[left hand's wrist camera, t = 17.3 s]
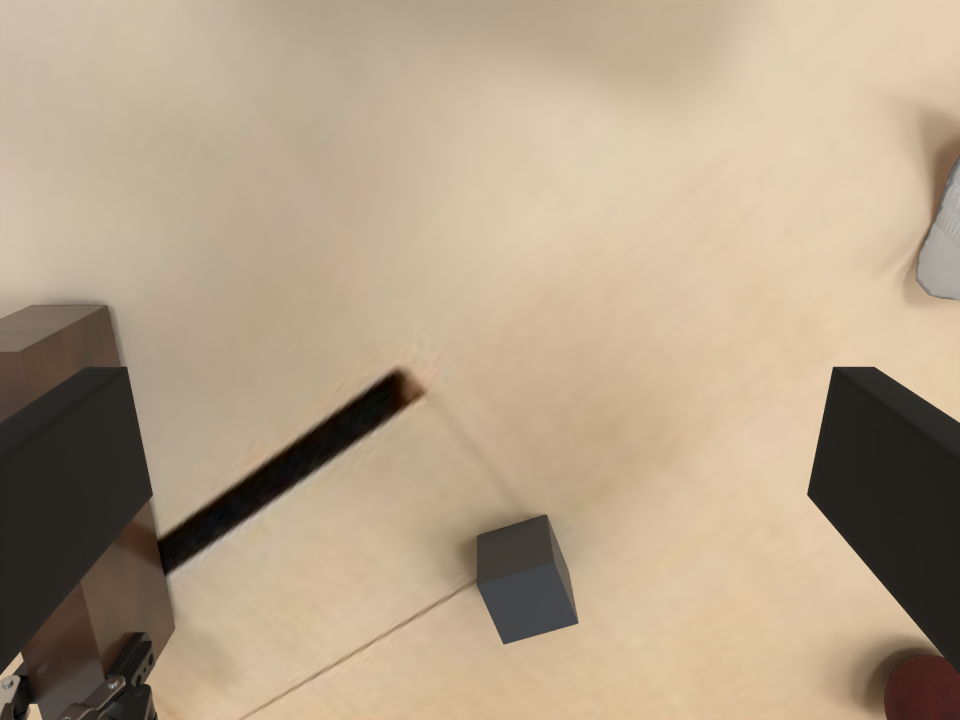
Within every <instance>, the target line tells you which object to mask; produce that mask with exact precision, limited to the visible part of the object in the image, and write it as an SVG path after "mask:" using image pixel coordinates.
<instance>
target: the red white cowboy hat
mask: <svg viewBox="0 0 960 720" xmlns="http://www.w3.org/2000/svg"><path fill="white" fill-rule="evenodd" d="M916 281H917V282H918V283H919V284H920V285H921V287H922V288H923V289H924V290H925V291H926V293H927V294H928V295H930V296H934V297H938V298H943V299H953V300H960V156H959V158H958V159H957V161H956V163H955V164H954V166H953V167H952V169H951V171H950V174H949V177H948V180H947V183H946V186H945V189H944V192H943V195H942V198H941V201H940V204H939V207H938V211H937V214H936V217H935V220H934V223H933V225H932V227H931V229H930V231H929V233H928V234H927V236H926V238H925V241H924V244H923V246H922V249H921V252H920V254H919V258H918V263H917V267H916Z"/></svg>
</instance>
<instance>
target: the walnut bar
mask: <svg viewBox="0 0 960 720" xmlns="http://www.w3.org/2000/svg"><path fill="white" fill-rule="evenodd" d="M85 367H120V363H119V359H118V354H117V349H116V344H115V340H114V335H113V330H112V325H111V321H110V316H109V311H108V306H107V305H31V306H29V307H27V308H24V309H22V310H20V311H18V312H15V313H13V314H11V315H9V316H6V317H4V318H2V319H0V423H1V422H2V421H4V420H5V419H7V418H8V417H10V416H12V415H13V414H15V413H16V412H18V411H19V410H21V409H22V408H24V407H25V406H27V405H28V404H30V403H31V402H33V401H34V400H36V399H37V398H39V397H40V396H42V395H44V394H45V393H47V392H48V391H50V390H51V389H53V388H54V387H56V386H57V385H59V384H60V383H62V382H63V381H65V380H66V379H68V378H69V377H71V376H72V375H74V374H76V373H77V372H79V371H80V370H82V369H83V368H85ZM174 630H175V625H174V620H173V615H172V610H171V606H170V601H169V596H168V591H167V587H166V582H165V577H164V572H163V568H162V563H161V558H160V553H159V549H158V544H157V539H156V534H155V530H154V525H153V520H152V515H151V511H150V506H149V501H147V502H146V504H145V505H144V506H143V507H142V508H141V509H140V511H139V512H138V513H137V514H136V515H135V517H134V518H133V519H132V520H131V521H130V522H129V524H128V525H127V526H126V527H125V528H124V530H123V531H122V532H121V533H120V534H119V535H118V537H117V538H116V539H115V540H114V541H113V543H112V544H111V545H110V546H109V547H108V548H107V550H106V551H105V552H104V553H103V554H102V556H101V557H100V558H99V559H98V560H97V561H96V563H95V564H94V565H93V566H92V567H91V569H90V570H89V571H88V572H87V573H86V574H85V576H84V577H83V578H82V579H81V580H80V582H79V583H78V584H77V585H76V586H75V587H74V589H73V590H72V591H71V592H70V593H69V595H68V596H67V597H66V598H65V599H64V600H63V602H62V603H61V604H60V605H59V606H58V608H57V609H56V610H55V611H54V612H53V613H52V615H51V616H50V617H49V618H48V619H47V621H46V622H45V623H44V624H43V625H42V626H41V628H40V629H39V630H38V631H37V632H36V634H35V635H34V636H33V637H32V638H31V639H30V641H29V642H28V643H27V644H26V645H25V647H24V648H23V649H22V650H21V654H22V658H23V661H24V664H25V667H26V670H27V673H28V676H29V679H30V682H31V686H32V689H33V692H34V695H35V698H36V701H37V704H38V707H39V710H40V714H41V717H42V720H55V719H56V718H57V717H58V716H59V715H60V714H61V713H62V712H64V711H65V710H66V709H67V708H68V707H69V706H70V705H71V704H73V703H79V704H80V703H82V702H84V701H85V700H86V699H87V698H88V697H89V696H90V695H91V694H92V693H93V692H94V691H95V690H96V689H97V688H98V687H99V686H100V685H102V684H103V683H104V682H105V681H106V680H107V676H106V675H107V673H108V672H109V670H110V669H111V667H112V666H113V664H114V663H115V661H116V660H117V658H118V657H119V655H120V654H121V652H122V651H123V649H124V648H125V646H126V645H127V643H128V642H129V640H130V639H131V637H132V636H133V634H134V633H135V632H148V634H149V638H150V641H152V643H153V647H154V652H155V656H156V661H157V659H158V657H159V656H160V654H161V652H162V651H163V649H164V647H165V645H166V644H167V642H168V640H169V639H170V637H171V635H172V634H173V632H174ZM106 712H107V710H105V711H104V712H103V713H102V714H101V715H100V717H99V719H100V718H101V717H102V716H103V715H104V714H105V713H106Z"/></svg>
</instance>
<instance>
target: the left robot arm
mask: <svg viewBox="0 0 960 720" xmlns="http://www.w3.org/2000/svg"><path fill="white" fill-rule="evenodd" d="M152 495H153V493H152V488H151V483H150V478H149V473H148V468H147V463H146V458H145V454H144V449H143V444H142V439H141V434H140V429H139V424H138V419H137V414H136V409H135V404H134V399H133V394H132V390H131V385H130V380H129V375H128V370H127V367H85V368H83V369H82V370H80V371H79V372H77V373H76V374H74V375H72V376H71V377H69V378H68V379H66V380H65V381H63V382H62V383H60V384H59V385H57V386H56V387H54V388H53V389H51V390H50V391H48V392H47V393H45V394H44V395H42V396H40V397H39V398H37V399H36V400H34V401H33V402H31V403H30V404H28V405H27V406H25V407H24V408H22V409H21V410H19V411H18V412H16V413H15V414H13V415H12V416H10V417H8V418H7V419H5V420H4V421H2V422H1V423H0V675H1V674H2V673H3V671H4V670H5V669H6V668H7V667H8V665H9V664H10V663H11V662H12V661H13V660H14V658H15V657H16V656H17V655H18V654H19V652H20V651H21V650H22V649H23V648H24V647H25V645H26V644H27V643H28V642H29V641H30V639H31V638H32V637H33V636H34V635H35V634H36V632H37V631H38V630H39V629H40V628H41V626H42V625H43V624H44V623H45V622H46V621H47V619H48V618H49V617H50V616H51V615H52V613H53V612H54V611H55V610H56V609H57V608H58V606H59V605H60V604H61V603H62V602H63V600H64V599H65V598H66V597H67V596H68V595H69V593H70V592H71V591H72V590H73V589H74V587H75V586H76V585H77V584H78V583H79V582H80V580H81V579H82V578H83V577H84V576H85V574H86V573H87V572H88V571H89V570H90V569H91V567H92V566H93V565H94V564H95V563H96V561H97V560H98V559H99V558H100V557H101V556H102V554H103V553H104V552H105V551H106V550H107V548H108V547H109V546H110V545H111V544H112V543H113V541H114V540H115V539H116V538H117V537H118V535H119V534H120V533H121V532H122V531H123V530H124V528H125V527H126V526H127V525H128V524H129V522H130V521H131V520H132V519H133V518H134V517H135V515H136V514H137V513H138V512H139V511H140V509H141V508H142V507H143V506H144V505H145V504H146V502H147V501H148V500H149V499H150V498H151V496H152ZM807 495H808V496H809V498H810V499H811V500H812V501H813V502H814V504H815V505H816V506H817V507H818V508H819V509H820V511H821V512H822V513H823V514H824V515H825V517H826V518H827V519H828V520H829V521H830V522H831V524H832V525H833V526H834V527H835V528H836V530H837V531H838V532H839V533H840V534H841V535H842V537H843V538H844V539H845V540H846V541H847V543H848V544H849V545H850V546H851V547H852V548H853V550H854V551H855V552H856V553H857V554H858V556H859V557H860V558H861V559H862V560H863V561H864V563H865V564H866V565H867V566H868V567H869V569H870V570H871V571H872V572H873V573H874V574H875V576H876V577H877V578H878V579H879V580H880V582H881V583H882V584H883V585H884V586H885V587H886V589H887V590H888V591H889V592H890V593H891V595H892V596H893V597H894V598H895V599H896V600H897V602H898V603H899V604H900V605H901V606H902V608H903V609H904V610H905V611H906V612H907V613H908V615H909V616H910V617H911V618H912V619H913V621H914V622H915V623H916V624H917V625H918V626H919V628H920V629H921V630H922V631H923V632H924V634H925V635H926V636H927V637H928V638H929V639H930V641H931V642H932V643H933V644H934V645H935V647H936V648H937V649H938V650H939V651H940V652H941V654H942V655H943V656H944V657H945V658H946V660H947V661H948V662H949V663H950V664H951V665H952V667H953V668H954V669H955V670H956V671H957V673H958V674H959V675H960V423H959V422H958V421H956V420H955V419H953V418H952V417H950V416H948V415H947V414H945V413H944V412H942V411H941V410H939V409H938V408H936V407H935V406H933V405H932V404H930V403H929V402H927V401H926V400H924V399H923V398H921V397H920V396H918V395H916V394H915V393H913V392H912V391H910V390H909V389H907V388H906V387H904V386H903V385H901V384H900V383H898V382H897V381H895V380H894V379H892V378H891V377H889V376H888V375H886V374H884V373H883V372H881V371H880V370H878V369H877V368H875V367H833V370H832V375H831V380H830V385H829V390H828V394H827V399H826V404H825V409H824V414H823V419H822V424H821V429H820V434H819V439H818V444H817V449H816V453H815V458H814V463H813V468H812V473H811V478H810V483H809V488H808V493H807Z"/></svg>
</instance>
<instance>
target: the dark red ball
mask: <svg viewBox="0 0 960 720" xmlns="http://www.w3.org/2000/svg"><path fill="white" fill-rule="evenodd" d="M884 704H885V713H886V717H887V720H960V675H959V674H958V673H957V671H956V670H955V669H954V668H953V667H952V665H951V664H950V663H949V662H948V661H947V660H946V658H944V657H940V656H935V655H920V656H916V657H913V658H910V659H907V660H906V661H904V662H903V663H901V664H900V665H898V667H897V668H896V669H895V670H894V671H893V672H892V674H891V677H890V679H889V682H888V684H887V686H886V689H885V696H884Z"/></svg>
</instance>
